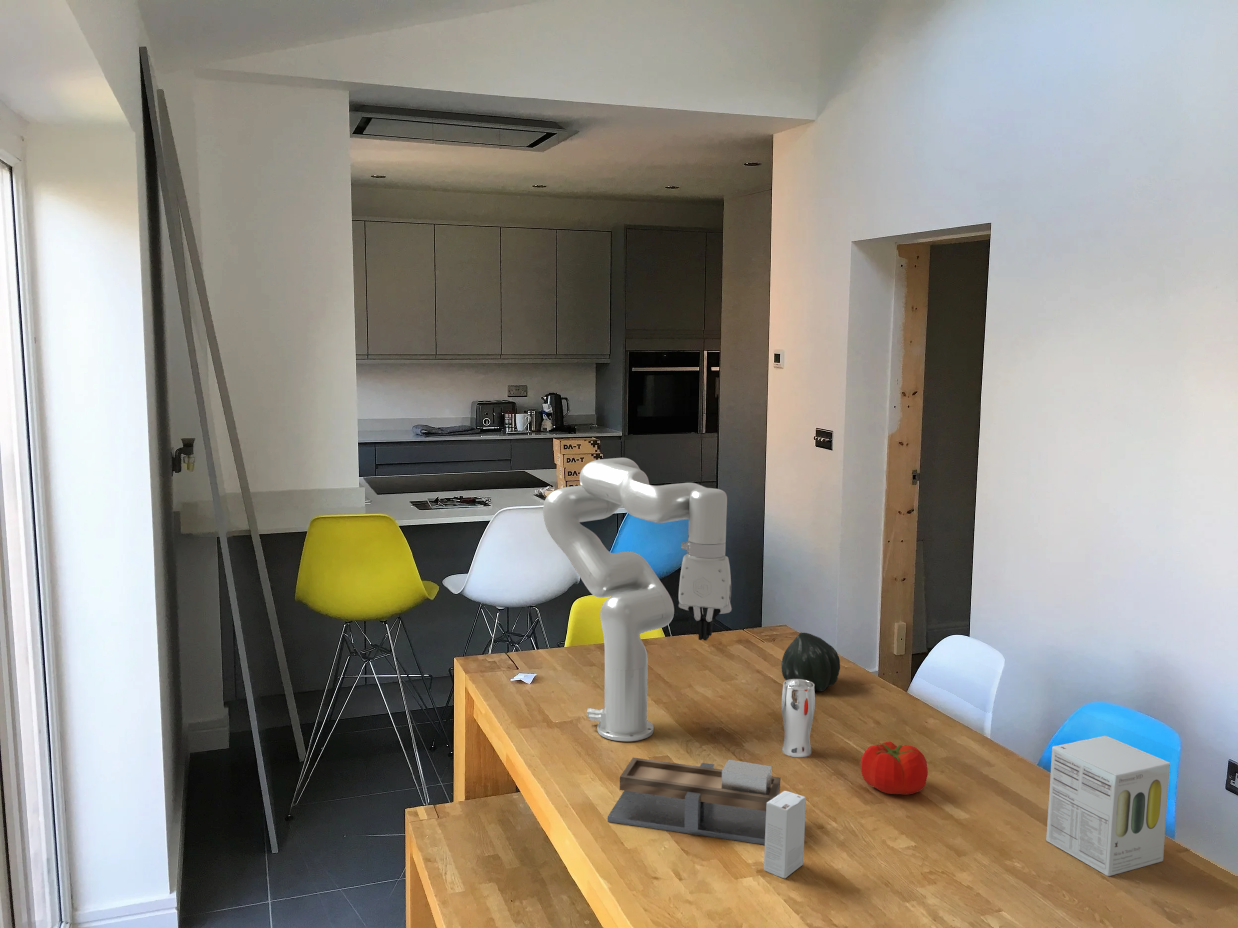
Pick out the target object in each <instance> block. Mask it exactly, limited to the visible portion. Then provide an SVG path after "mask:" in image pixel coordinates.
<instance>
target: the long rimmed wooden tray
mask: <svg viewBox="0 0 1238 928" xmlns="http://www.w3.org/2000/svg"><path fill="white" fill-rule="evenodd" d="M722 770H723V768H722V769H721V768H715V767H714V768H707V767H700V765H699V766H698V765H690V764H683V763H676V762H670V761H661V760H654V759H648V758H647V759H646V758H639V757H632V758H631V760H630V761H629V763H628V764H627V765H626V767H625V769H624V770H623V771H622V773H621V775H619V791H623V792H624V791H631V792H637V793H644V794H651V795H658V796H665V797H672V798H679V799H685V796H686V794H687V792H694V793H701V802H706V803H713V804H720V805H727V806H734V807H740V808H747V809H754V810H761V811H766V805H767V802H768V801H770V800H771V799H773V798H774V797H776V796H777V795H779V794H780V793H781V777H780V776H772V777H771V789H770V791H769V793H768V795H763V794H756V793H749V792H742V791H734V790H727V789H721V787H722Z"/></svg>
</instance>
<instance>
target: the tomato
mask: <svg viewBox="0 0 1238 928" xmlns="http://www.w3.org/2000/svg"><path fill="white" fill-rule="evenodd" d="M860 770H861V776H862V778H863V780H864V782H865V783H867V785H869V786H870V787H873V788H875V789H877V790H879V792H882V793H885V794H887V795H906V796H907V795H912V794H915V793H918V792H921V790H923V789H924V788H925V786H926V784H927V780H928V775H929V771H928V770H929V769H928V762H927V759H926V757H925V755H924V754H923V753H922V752H921V751H920V750H919V748H917V747H916V746H913V745H909V744H904V745H903V744H899V745H898V746H897V745H896V744H894V742H892V741H885V742H881V743H880V742H879V745H877V744H873V745H870V746H869V747H868V748H867V749H865V751H864V752H863V753H862V755H861V759H860Z"/></svg>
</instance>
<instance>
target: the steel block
mask: <svg viewBox="0 0 1238 928" xmlns="http://www.w3.org/2000/svg"><path fill="white" fill-rule="evenodd" d="M772 769H773V766H771V765H765V764H759V763H752V762H748V761H747V762H746V761H741V760H740V761H739V760H734V759H728V760H727V761H726V762H725V765H724V766H723V768H722V787H721V789H727V790H734V791H742V792H749V793H756V794H763V795H768V793H769V791H770V789H771V777H772Z"/></svg>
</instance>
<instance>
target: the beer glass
mask: <svg viewBox="0 0 1238 928" xmlns="http://www.w3.org/2000/svg"><path fill="white" fill-rule="evenodd" d="M815 691H816V690H815V688H814V683H812V682H810V681H807V680H803V679H789V680H784V681H783V683H782V693H781V694H782V695H781V715H782V721H783V730H784V740H783V745H782V748H781V749H782V753H783V754H784V755H786V756H789V757H791V758H797V759H798V758H801V759H802V758H807V757H809V756H811V754H812V747H811V737H810V736H811V730H812V725H813V722H814V721H813V720H814V716H815V711H816V710H815V708H816V693H815Z"/></svg>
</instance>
